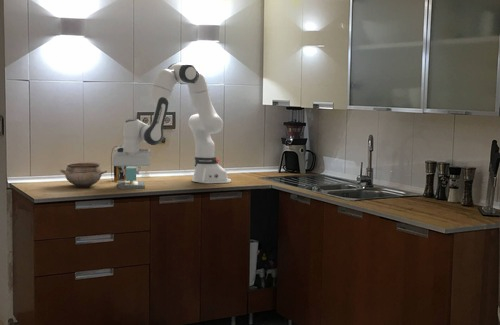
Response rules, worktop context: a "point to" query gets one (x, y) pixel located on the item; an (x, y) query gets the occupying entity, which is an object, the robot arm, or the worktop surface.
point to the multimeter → (118, 172)
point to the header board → (131, 185)
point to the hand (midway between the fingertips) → (131, 174)
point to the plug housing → (131, 173)
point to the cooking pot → (83, 173)
